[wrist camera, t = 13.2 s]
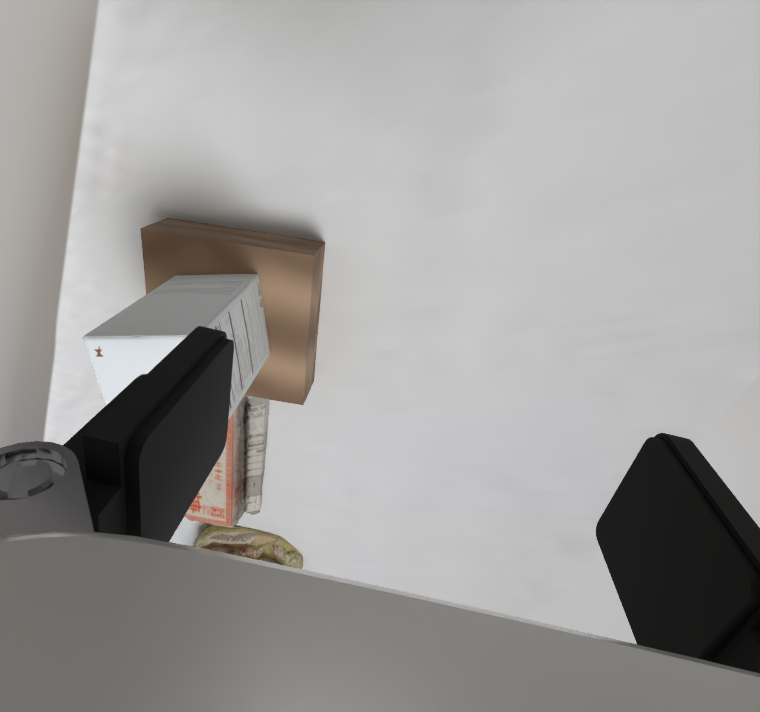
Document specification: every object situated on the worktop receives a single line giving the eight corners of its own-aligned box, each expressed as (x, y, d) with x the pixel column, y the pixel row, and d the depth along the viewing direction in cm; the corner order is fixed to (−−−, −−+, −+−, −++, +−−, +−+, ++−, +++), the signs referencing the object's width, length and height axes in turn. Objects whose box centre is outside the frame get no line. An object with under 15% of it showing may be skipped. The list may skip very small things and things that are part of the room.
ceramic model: (319, 548, 59) (299, 625, 50) (292, 603, 64) (270, 682, 55) (207, 509, 58) (167, 581, 49) (190, 568, 63) (150, 643, 54)
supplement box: (191, 354, 43) (110, 438, 32) (174, 272, 40) (76, 334, 29) (273, 354, 43) (220, 440, 31) (262, 272, 39) (198, 334, 28)
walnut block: (170, 216, 43) (140, 228, 39) (326, 241, 43) (313, 255, 38) (179, 356, 50) (154, 380, 45) (314, 378, 49) (303, 405, 45)
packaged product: (250, 538, 53) (161, 522, 53) (264, 507, 57) (181, 491, 58) (257, 400, 45) (151, 380, 45) (272, 375, 49) (176, 357, 50)
